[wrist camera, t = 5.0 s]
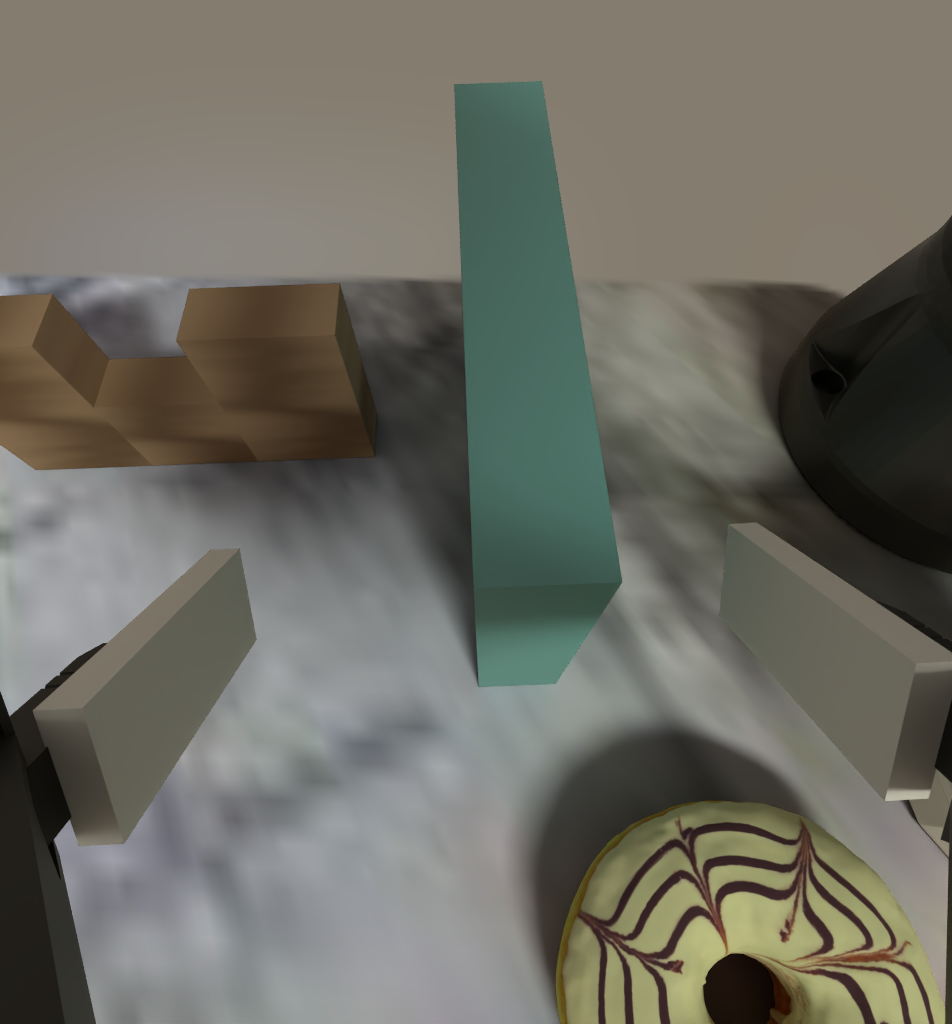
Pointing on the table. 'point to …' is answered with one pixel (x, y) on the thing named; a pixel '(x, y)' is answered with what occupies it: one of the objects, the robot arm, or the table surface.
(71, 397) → the walnut slotted plate
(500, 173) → the teal upright panel
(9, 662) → the table surface
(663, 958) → the decorated donut
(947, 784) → the white cup
